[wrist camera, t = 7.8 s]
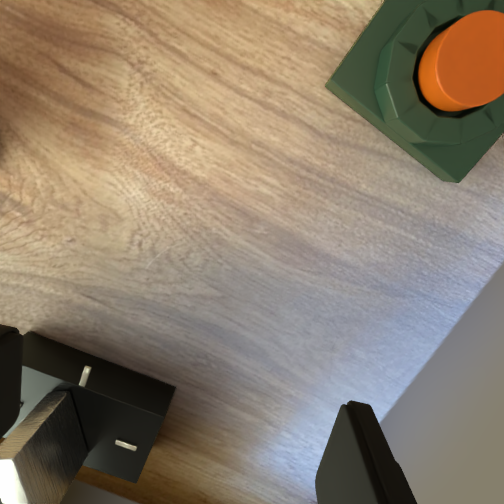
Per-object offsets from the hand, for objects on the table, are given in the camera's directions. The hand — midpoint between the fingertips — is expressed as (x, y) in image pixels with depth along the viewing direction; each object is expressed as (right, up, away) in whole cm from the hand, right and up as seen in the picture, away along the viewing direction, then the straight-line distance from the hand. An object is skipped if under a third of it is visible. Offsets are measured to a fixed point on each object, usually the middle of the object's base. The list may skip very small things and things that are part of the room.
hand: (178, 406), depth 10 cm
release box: (+12, +14, +9) cm, 20 cm away
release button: (+12, +13, +6) cm, 18 cm away
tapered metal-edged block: (-10, -7, +12) cm, 17 cm away
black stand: (-10, -6, +15) cm, 19 cm away
